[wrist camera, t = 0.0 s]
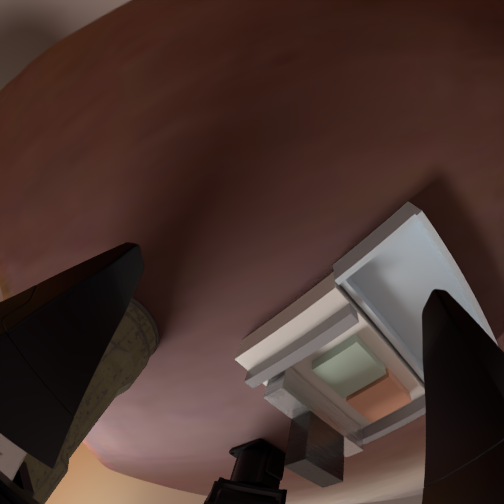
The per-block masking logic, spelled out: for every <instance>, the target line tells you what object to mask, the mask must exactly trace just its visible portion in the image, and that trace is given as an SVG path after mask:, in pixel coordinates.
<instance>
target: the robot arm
mask: <svg viewBox="0 0 504 504" xmlns="http://www.w3.org/2000/svg"><path fill="white" fill-rule="evenodd" d="M143 270H144V263H143V259H142V254H141V249H140V246H139V245H138V244H135V243H129V242H127V243H124V244H122V245H120V246H117V247H115V248H113V249H111V250H108V251H106V252H104V253H102V254H100V255H97V256H95V257H93V258H91V259H89V260H87V261H84V262H82V263H80V264H78V265H76V266H74V267H72V268H70V269H67V270H65V271H63V272H61V273H59V274H57V275H55V276H53V277H51V278H49V279H47V280H45V281H43V282H41V283H39V284H38V285H35V286H33V287H31V288H29V289H27V290H25V291H23V292H21V293H19V294H17V295H15V296H13V297H11V298H8V299H6V300H4V301H2V302H0V504H41V503H39V502H38V501H36V500H35V499H34V498H33V495H34V490H33V487H32V483H31V479H30V476H29V472H28V468H27V463H26V462H25V461H23V460H24V458H25V456H26V454H27V453H28V454H29V455H31V456H32V457H34V458H35V459H37V460H38V461H40V462H42V463H43V464H45V465H46V466H48V467H50V468H51V469H53V468H54V466H55V464H56V461H57V459H58V456H59V453H60V451H61V448H62V446H63V443H64V441H65V438H66V436H67V434H68V431H69V429H70V426H71V424H72V422H73V420H74V416H75V415H76V412H77V410H78V408H79V405H80V403H81V401H82V399H83V397H84V394H85V392H86V390H87V388H88V386H89V384H90V382H91V379H92V377H93V375H94V373H95V371H96V369H97V367H98V365H99V363H100V361H101V359H102V357H103V355H104V353H105V351H106V349H107V347H108V345H109V343H110V341H111V339H112V337H113V335H114V333H115V331H116V330H117V328H118V326H119V324H120V322H121V320H122V318H123V316H124V314H125V312H126V310H127V308H128V306H129V304H130V301H131V299H132V297H133V294H134V292H135V290H136V287H137V285H138V283H139V280H140V278H141V276H142V273H143ZM422 360H423V373H424V387H425V407H426V459H425V478H424V487H425V488H424V489H423V499H422V504H504V352H503V351H502V350H501V349H500V348H499V346H498V345H497V344H496V343H495V342H494V341H493V340H492V338H491V337H490V336H489V335H488V334H487V333H486V332H485V331H484V329H483V328H482V327H481V326H480V325H479V324H478V323H477V322H476V321H475V320H474V319H473V318H472V317H471V315H470V314H469V313H468V312H467V311H466V310H465V309H464V308H463V307H462V306H461V305H460V304H459V303H458V302H457V301H456V300H455V299H454V298H453V297H452V296H451V295H450V294H449V293H448V292H447V291H446V290H441V289H434V290H433V291H432V292H431V294H430V296H429V298H428V300H427V302H426V304H425V306H424V308H423V311H422ZM229 454H231V455H232V456H234V457H236V458H237V459H236V462H235V465H234V469H233V472H232V475H231V478H230V480H227V479H224V478H222V477H220V478H219V480H218V481H214V484H213V487H212V489H211V492H210V493H209V495H208V497H207V498H206V500H205V502H204V504H285V502H286V494H287V490H285V489H283V490H280V489H279V484H280V480H282V477H283V472H284V463H285V457H286V454H284V453H283V452H281V451H280V450H278V449H276V448H275V447H273V446H272V445H270V444H269V443H267V442H266V441H264V440H262V439H259V440H256V441H253V442H251V443H248V444H245V445H242V446H240V447H237V448H234V449H231V450H230V451H229Z"/></svg>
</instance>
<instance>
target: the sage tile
mask: <svg viewBox="0 0 504 504" xmlns="http://www.w3.org/2000/svg"><path fill="white" fill-rule="evenodd" d="M312 371H313V372H314V373H315V374H316V375H317V376H318V377H319V378H320V379H322V380H323V381H324V382H325V383H326V384H327V385H328V386H329V387H331V388H332V389H333V390H334V391H335V392H336V393H337V394H338V395H340V396H341V397H342V398H345V397H347V396H349V395H350V394H352V393H354V392H356V391H358V390H359V389H361V388H363V387H365V386H366V385H368V384H370V383H372V382H373V381H375V380H377V379H378V378H380V377H382V376H383V375H385V374H386V369H385V364H384V363H383V362H382V361H381V360H380V359H379V358H378V357H377V356H376V355H375V354H374V352H373V351H372V350H371V349H370V348H369V347H368V346H367V345H366V344H365V343H364V342H363V340H362V339H361V338H360V337H359V336H358V335H357V334H356V333H355V334H354V335H352V336H351V337H349V338H348V339H346V340H345V341H343V342H342V343H340V344H339V345H337V346H336V347H334V348H332V349H331V350H329V351H328V352H326V353H325V354H323V355H321V356H320V357H318V358H317V359H315V360H313V361H312Z"/></svg>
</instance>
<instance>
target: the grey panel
mask: <svg viewBox="0 0 504 504" xmlns="http://www.w3.org/2000/svg"><path fill="white" fill-rule="evenodd" d="M264 398H265V399H266V400H267V401H269V402H270V403H271V404H272V405H274V406H275V407H276V408H278V409H279V410H280V411H282V412H283V413H284V414H286V415H287V416H288V417H289V418H291V419H292V421H291V428H290V434H289V440H288V446H287V451H286V457H285V463H284V467H286V468H288V469H290V470H291V471H293V472H295V473H297V474H298V475H300V476H302V477H304V478H306V479H307V480H309V481H311V482H313V483H315V484H317V485H319V486H321V487H327V486H330V485H333V484H336V483H339V482H342V481H343V471H344V456H345V457H349V456H351V455H354V454H356V453H359V452H361V451H363V450H364V448H363V428H362V427H361V426H359V425H358V424H357V423H356V422H355V421H353V420H352V419H351V418H350V417H348V416H347V415H346V414H345V413H344V412H342V411H341V410H340V409H339V408H337V407H336V406H335V405H334V404H333V403H332V402H330V401H329V400H328V399H327V398H326V397H324V396H323V395H322V394H321V393H320V392H319V391H317V390H316V389H315V388H314V387H313V386H312V385H310V384H309V383H308V382H307V381H306V380H305V379H303V378H302V377H301V376H300V375H299V374H298V373H297V372H296V371H294V370H293V369H292V368H291V367H289V368H288V369H286V370H284V371H282V372H281V373H279V374H277V375H276V376H274V377H272V378H270V379H269V380H268V383H267V386H266V390H265V394H264Z"/></svg>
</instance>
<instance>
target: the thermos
mask: <svg viewBox="0 0 504 504" xmlns="http://www.w3.org/2000/svg"><path fill="white" fill-rule="evenodd" d="M158 344H159V332H158V329H157V326H156V323H155V321H154V319H153V318H152V316H151V315H150V313H149V311H148V310H147V309H146V308H145V307H144V306H143V305H142V304H141V303H140V302H138V301H137V300H135V299H134V298H132V299H131V301H130V304H129V306H128V308H127V310H126V312H125V314H124V316H123V318H122V320H121V322H120V324H119V326H118V328H117V330H116V331H115V333H114V335H113V337H112V339H111V341H110V343H109V345H108V347H107V349H106V351H105V353H104V355H103V357H102V359H101V361H100V363H99V365H98V367H97V369H96V371H95V373H94V375H93V377H92V379H91V382H90V384H89V386H88V388H87V390H86V392H85V394H84V397H83V399H82V401H81V403H80V405H79V408H78V410H77V412H76V415H75V416H74V420H73V422H72V424H71V426H70V429H69V431H68V434H67V436H66V438H65V441H64V443H63V446H62V448H61V451H60V453H59V456H58V459H57V461H56V464H55V466H54V468H53V469H51V468H50V467H48V466H46V465H45V464H43V463H42V462H40V461H38V460H37V459H35V458H34V457H32V456H31V455H29V454H28V453H27V454H26V456H25V458H24V460H23V461H25V462H26V463H27V468H28V472H29V476H30V479H31V483H32V487H33V490H34V495H33V498H34V499H35V500H36V501H38V502H39V503H41V504H45V502H46V501H47V500H48V498H49V497H50V495H51V494H52V492H53V491H54V490H55V488H56V487H57V485H58V484H59V482H60V481H61V480H62V478H63V477H64V476H65V474H66V473H67V470H68V464H69V458H70V457H71V455H72V454H73V453H74V451H75V450H76V449H77V447H78V446H79V445H80V443H81V442H82V441H83V439H84V438H85V437H86V435H87V434H88V433H89V431H90V430H91V429H92V427H93V426H94V425H95V423H96V422H97V421H98V419H99V418H100V417H101V415H102V414H103V413H104V411H105V410H106V409H107V407H108V406H109V405H110V404H111V402H112V401H113V400H114V398H115V397H116V396H118V395H120V394H122V393H124V392H125V391H126V390H128V389H129V388H130V387H131V385H132V384H133V383H134V381H135V380H136V379H137V377H138V376H139V374H140V373H141V372H142V370H143V369H144V368H145V366H146V365H147V363H148V360H149V358H150V356H151V355H152V354H153V353H154V352H155V351H156V349H157V346H158Z"/></svg>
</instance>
